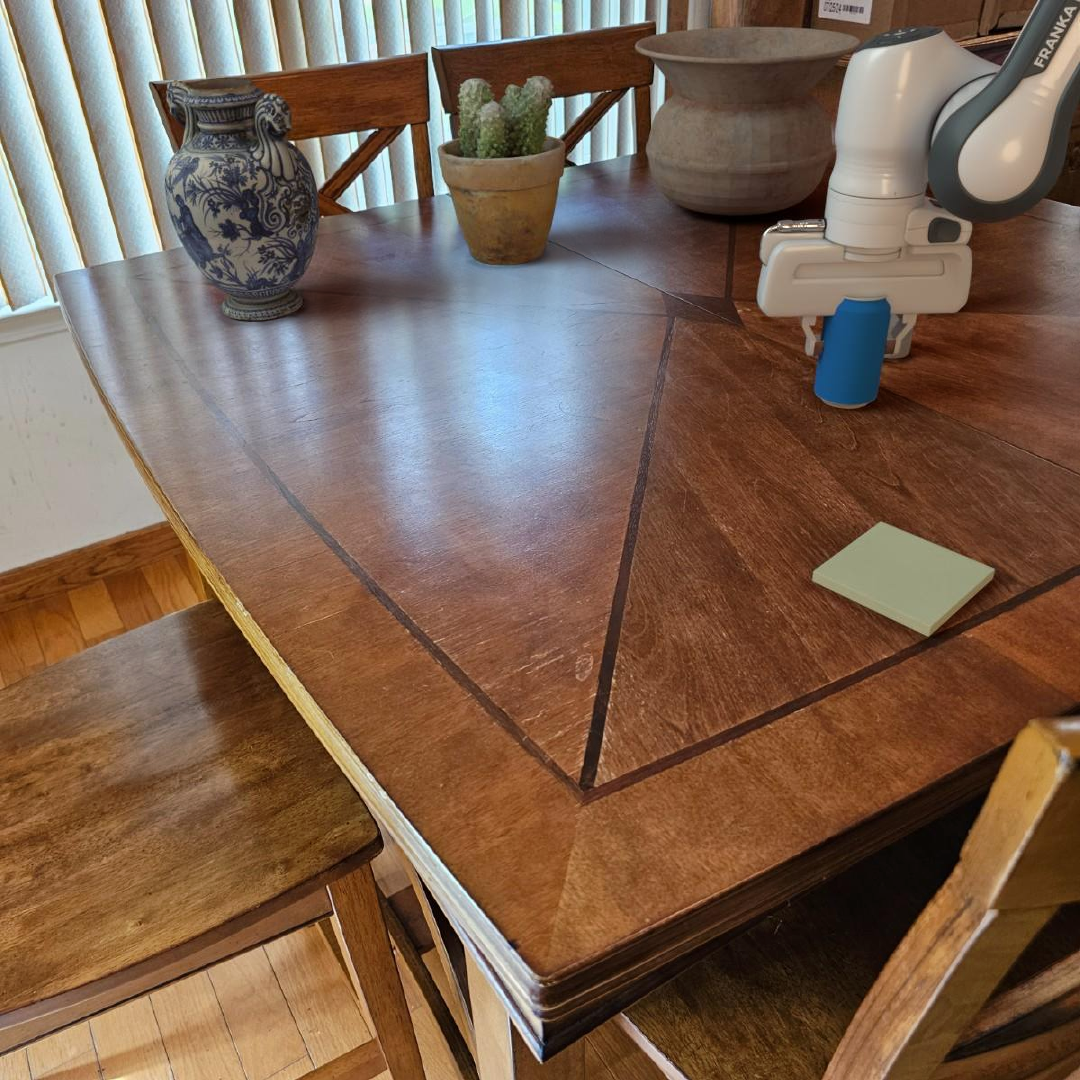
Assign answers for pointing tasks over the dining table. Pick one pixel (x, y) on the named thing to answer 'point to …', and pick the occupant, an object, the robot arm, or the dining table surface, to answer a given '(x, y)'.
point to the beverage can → (853, 352)
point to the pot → (742, 116)
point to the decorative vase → (242, 195)
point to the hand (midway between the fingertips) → (851, 353)
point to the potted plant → (504, 170)
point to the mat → (904, 577)
